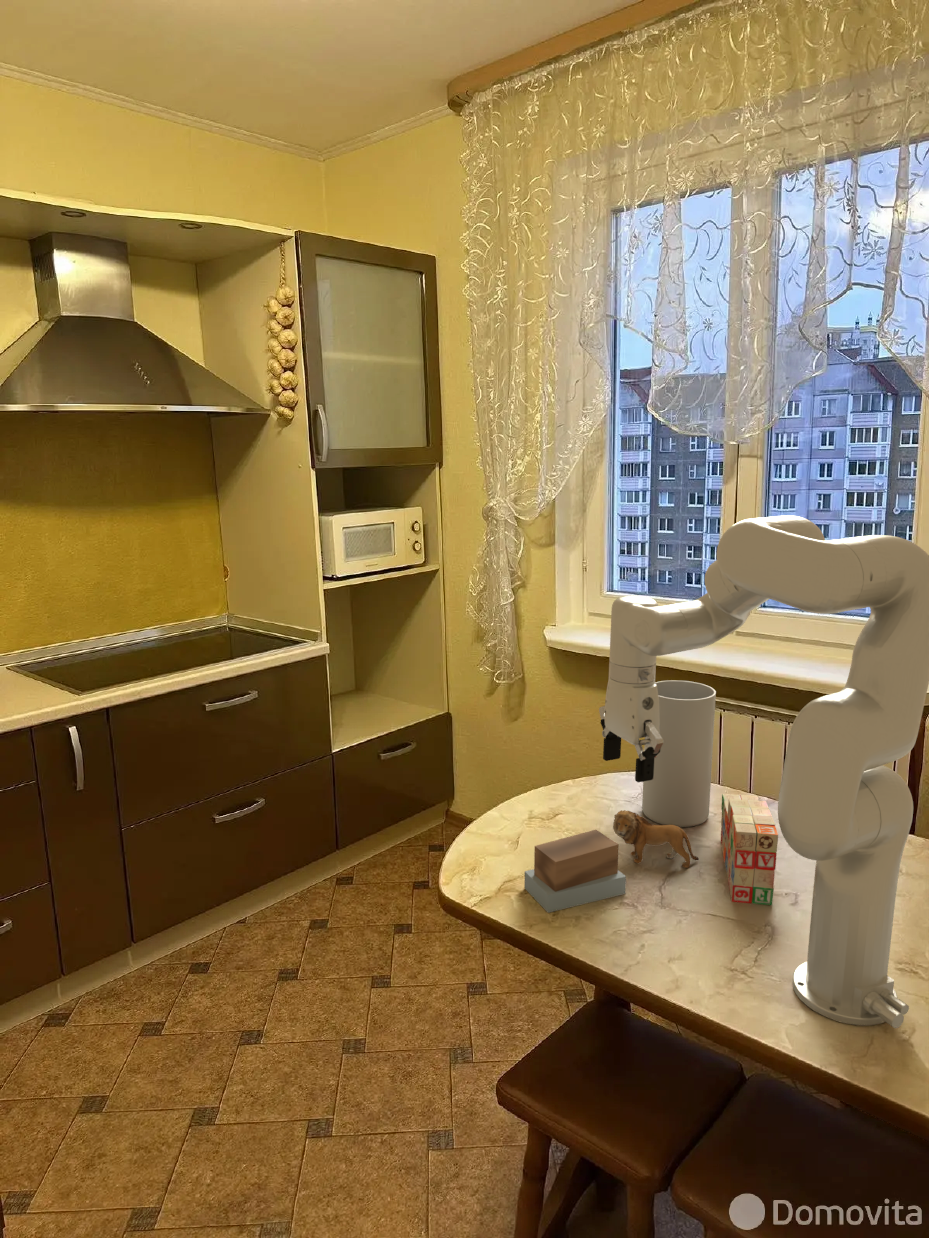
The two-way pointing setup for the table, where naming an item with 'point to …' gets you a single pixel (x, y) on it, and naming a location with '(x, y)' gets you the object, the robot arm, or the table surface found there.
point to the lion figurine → (651, 836)
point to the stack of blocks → (749, 848)
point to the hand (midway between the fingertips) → (627, 769)
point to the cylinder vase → (682, 755)
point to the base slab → (574, 891)
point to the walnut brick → (575, 860)
